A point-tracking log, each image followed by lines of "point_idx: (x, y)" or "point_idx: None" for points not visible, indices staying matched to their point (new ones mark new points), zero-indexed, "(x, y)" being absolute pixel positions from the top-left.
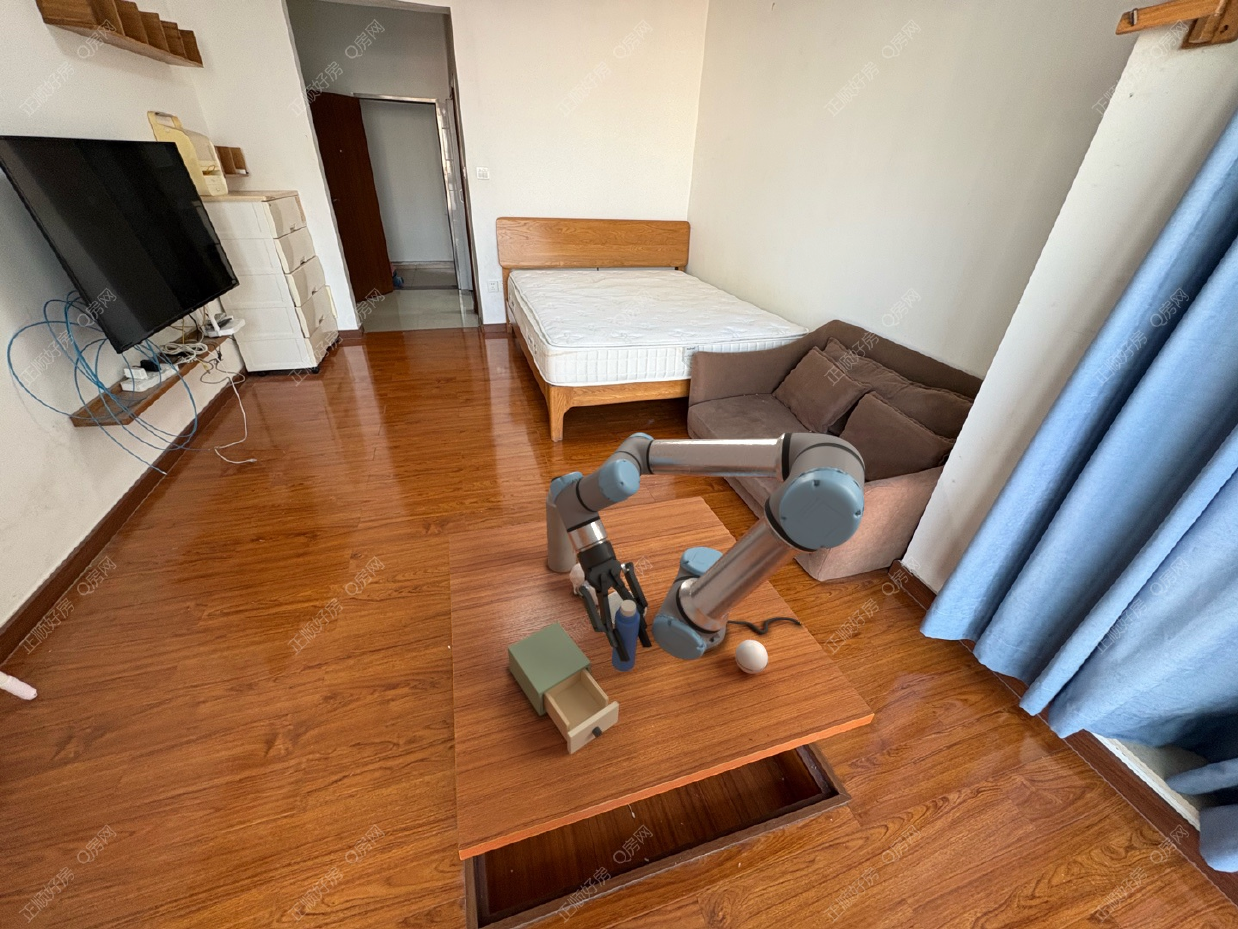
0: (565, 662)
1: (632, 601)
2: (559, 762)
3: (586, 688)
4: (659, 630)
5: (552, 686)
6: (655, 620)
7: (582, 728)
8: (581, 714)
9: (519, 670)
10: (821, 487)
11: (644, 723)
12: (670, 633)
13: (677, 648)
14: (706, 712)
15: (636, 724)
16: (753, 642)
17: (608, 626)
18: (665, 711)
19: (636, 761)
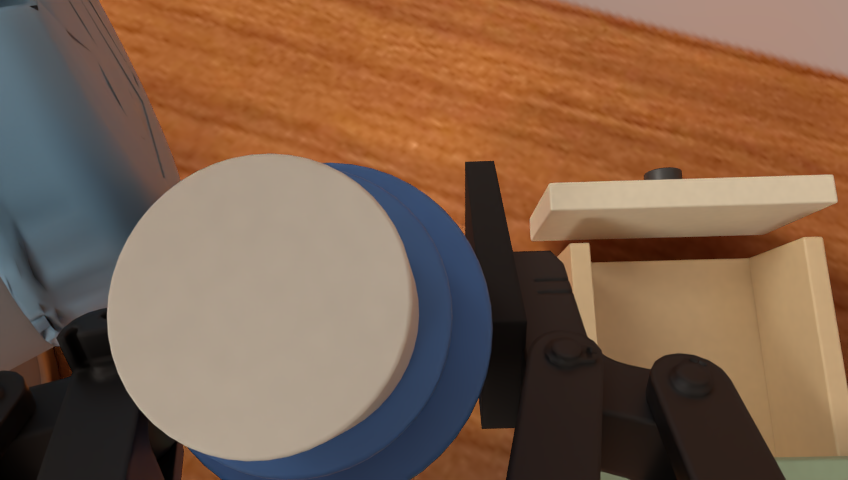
0: None
1: (121, 338)
2: (796, 224)
3: None
4: (120, 134)
5: (824, 458)
6: (65, 211)
7: (765, 180)
8: (659, 315)
9: None
10: None
11: (433, 169)
12: (71, 31)
13: (117, 65)
14: (208, 76)
15: (462, 183)
16: None
17: (586, 377)
18: (333, 162)
19: (545, 78)
